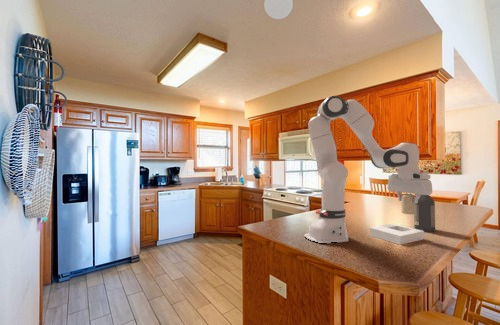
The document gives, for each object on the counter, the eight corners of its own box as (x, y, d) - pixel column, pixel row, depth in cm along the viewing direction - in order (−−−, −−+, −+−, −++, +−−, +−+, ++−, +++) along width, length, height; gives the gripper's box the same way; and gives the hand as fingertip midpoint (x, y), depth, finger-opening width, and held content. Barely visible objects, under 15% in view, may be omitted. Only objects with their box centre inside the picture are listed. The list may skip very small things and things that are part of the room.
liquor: (433, 228, 130) (432, 175, 131) (435, 232, 123) (434, 176, 123) (414, 226, 135) (412, 175, 136) (414, 230, 128) (413, 176, 128)
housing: (400, 244, 106) (399, 236, 106) (369, 235, 120) (369, 227, 120) (424, 239, 113) (424, 231, 113) (392, 230, 128) (392, 223, 128)
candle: (398, 212, 119) (399, 192, 119) (409, 212, 119) (409, 193, 119) (406, 214, 113) (407, 194, 113) (417, 214, 114) (417, 194, 114)
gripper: (384, 173, 125) (384, 199, 125) (426, 175, 106) (425, 205, 106) (392, 173, 127) (392, 198, 127) (434, 175, 108) (434, 204, 108)
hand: (407, 201), depth 116 cm, fingers closed on candle, 5 cm apart
